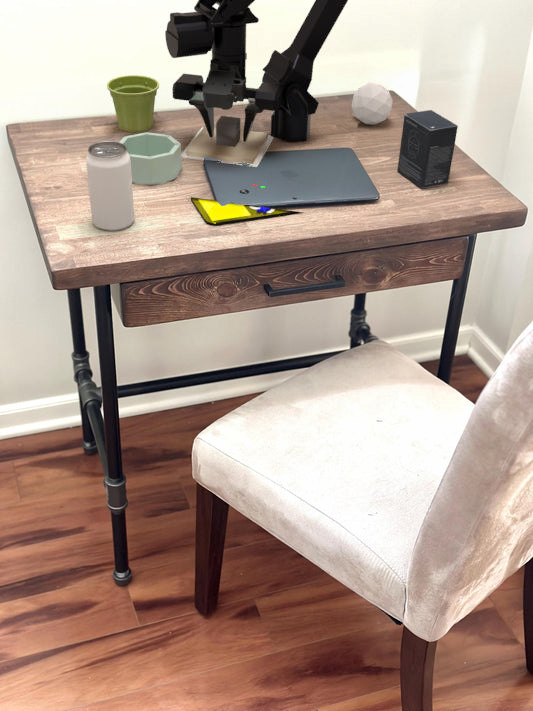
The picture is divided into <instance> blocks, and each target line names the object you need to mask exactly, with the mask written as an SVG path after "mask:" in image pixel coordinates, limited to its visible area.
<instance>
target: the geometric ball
mask: <svg viewBox="0 0 533 711" xmlns="http://www.w3.org/2000/svg"><path fill="white" fill-rule="evenodd" d="M393 102H394V100H393V98H392V96H391V93H390V91H389V89H387V87H385V86H384V85H382V84H380V83H377V82H367V83H366V84H363V85H361V86H360V87H358V88H357V90H356V91H355V92H354V95H353V96H352V101H351V107H350V108H351V109H352V111H353V114H354V117H355V118H356V119H357V120H359V122H362V123H363V124H365V125H371V126H376V125H378V124H379V123H382V122H383V121H385V120H386V119H387V118H388V116H389V115H390V113H391V110H392V106H393Z"/></svg>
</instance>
